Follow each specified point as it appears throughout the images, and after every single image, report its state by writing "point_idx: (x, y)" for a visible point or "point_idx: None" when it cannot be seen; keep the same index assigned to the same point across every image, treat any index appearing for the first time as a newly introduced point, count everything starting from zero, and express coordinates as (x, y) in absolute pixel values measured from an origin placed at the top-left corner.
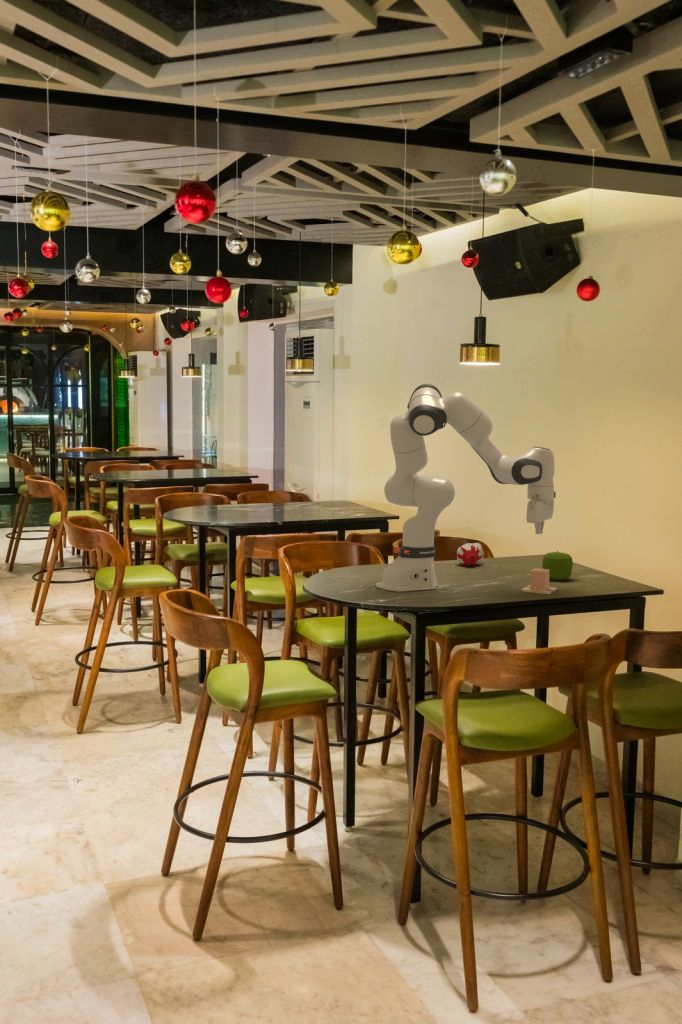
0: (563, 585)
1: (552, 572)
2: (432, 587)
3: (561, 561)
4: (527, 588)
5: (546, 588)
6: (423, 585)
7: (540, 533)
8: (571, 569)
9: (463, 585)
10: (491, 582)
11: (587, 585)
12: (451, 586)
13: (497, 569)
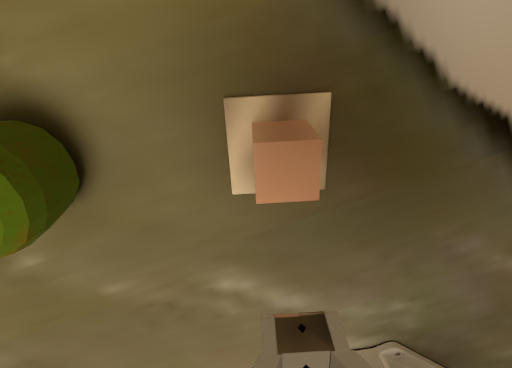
0: (129, 105)
1: (67, 179)
2: (400, 347)
3: (11, 166)
4: None
5: (283, 121)
6: (401, 363)
7: (333, 312)
8: None
9: None
10: (232, 289)
11: (52, 16)
12: None
13: (36, 340)
